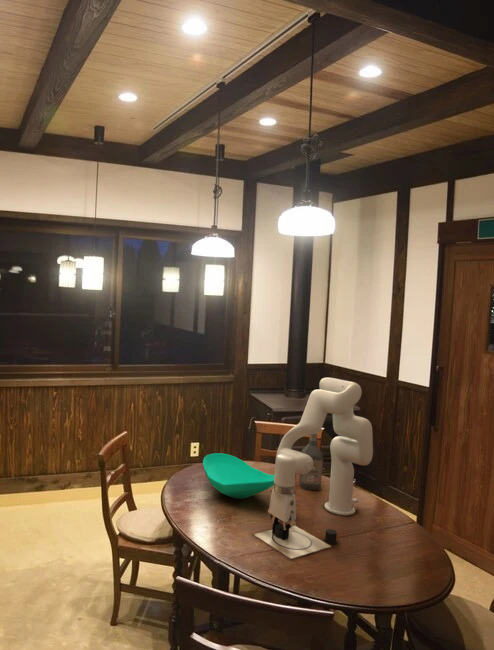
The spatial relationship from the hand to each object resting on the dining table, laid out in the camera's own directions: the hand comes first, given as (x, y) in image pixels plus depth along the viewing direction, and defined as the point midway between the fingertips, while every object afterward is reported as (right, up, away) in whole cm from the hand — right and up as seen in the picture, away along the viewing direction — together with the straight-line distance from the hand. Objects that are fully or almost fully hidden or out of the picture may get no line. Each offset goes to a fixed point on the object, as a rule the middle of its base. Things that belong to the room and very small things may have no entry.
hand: (280, 535), depth 201 cm
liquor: (+24, +1, +55) cm, 60 cm away
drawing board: (+4, -1, -2) cm, 5 cm away
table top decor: (-12, +2, +39) cm, 41 cm away
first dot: (0, 0, 0) cm, 0 cm away
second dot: (+19, -2, -1) cm, 19 cm away
